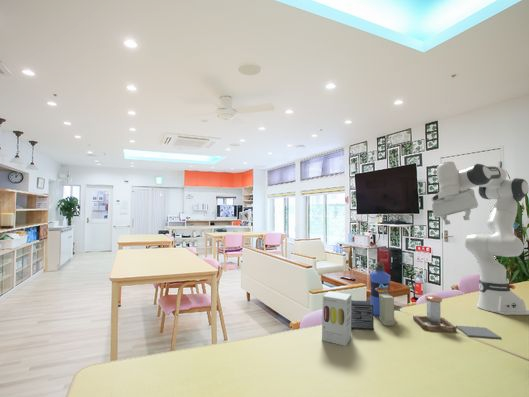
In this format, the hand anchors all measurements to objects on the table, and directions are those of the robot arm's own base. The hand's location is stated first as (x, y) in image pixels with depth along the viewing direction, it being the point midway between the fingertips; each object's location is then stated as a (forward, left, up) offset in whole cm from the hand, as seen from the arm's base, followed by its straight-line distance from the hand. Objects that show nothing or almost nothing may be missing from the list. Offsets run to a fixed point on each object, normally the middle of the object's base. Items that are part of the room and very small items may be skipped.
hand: (456, 222), depth 135 cm
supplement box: (+57, +28, -46) cm, 78 cm away
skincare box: (+33, +7, -46) cm, 57 cm away
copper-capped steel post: (+13, +6, -46) cm, 48 cm away
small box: (+46, +14, -46) cm, 66 cm away
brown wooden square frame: (+13, +6, -46) cm, 48 cm away
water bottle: (+33, -5, -46) cm, 57 cm away
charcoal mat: (-2, +11, -46) cm, 47 cm away
